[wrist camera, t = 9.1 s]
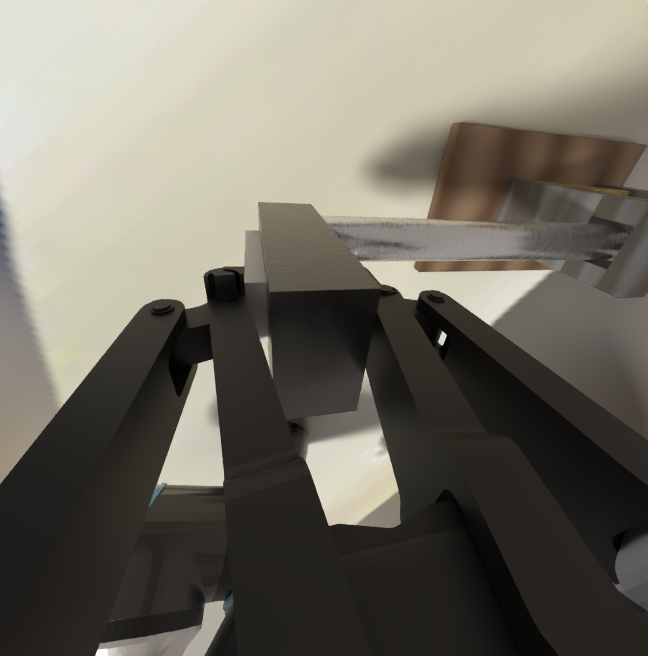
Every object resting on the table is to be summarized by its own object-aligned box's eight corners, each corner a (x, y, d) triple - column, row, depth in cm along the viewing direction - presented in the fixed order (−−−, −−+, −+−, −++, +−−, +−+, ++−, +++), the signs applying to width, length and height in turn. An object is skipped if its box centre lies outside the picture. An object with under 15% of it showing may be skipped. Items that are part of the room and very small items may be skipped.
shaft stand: (413, 267, 39) (510, 347, 24) (452, 123, 30) (640, 117, 15) (563, 265, 44) (712, 329, 30) (633, 144, 35) (893, 153, 21)
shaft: (260, 266, 21) (274, 421, 10) (256, 192, 18) (269, 291, 7) (574, 262, 28) (798, 353, 16) (607, 208, 25) (903, 272, 14)
